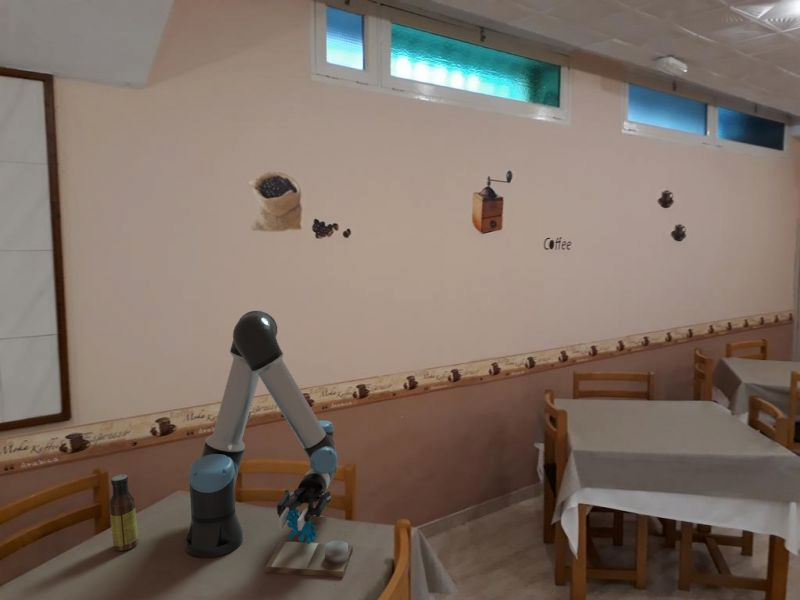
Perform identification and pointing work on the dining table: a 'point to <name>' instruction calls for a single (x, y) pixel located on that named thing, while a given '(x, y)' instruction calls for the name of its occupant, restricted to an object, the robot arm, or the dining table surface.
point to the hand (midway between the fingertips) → (289, 524)
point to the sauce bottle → (123, 515)
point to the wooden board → (310, 558)
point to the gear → (305, 531)
